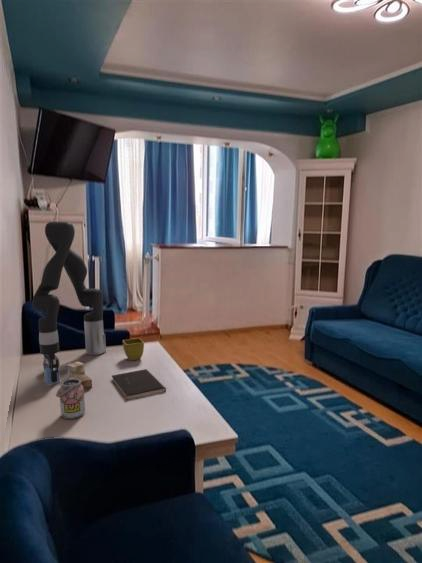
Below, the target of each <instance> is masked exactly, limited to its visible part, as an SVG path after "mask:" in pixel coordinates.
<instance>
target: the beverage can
mask: <svg viewBox="0 0 422 563" xmlns="http://www.w3.org/2000/svg"><path fill="white" fill-rule="evenodd" d="M55 397H57V398H59V403H60V414H61V417H62V418H64V419H65V420H74V419H78V418H80V417H82V416H83V415H84V414H85V412H86V403H85V390H84V388H83V386H82V385H81V381H80V380H79V379H74V378H71V379H69V378H68V379H66V380H63V381H62V382H60V388H58V389H57V391H56V393H55Z"/></svg>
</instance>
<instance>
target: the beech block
mask: <svg viewBox="0 0 422 563" xmlns="http://www.w3.org/2000/svg"><path fill="white" fill-rule="evenodd" d="M84 374H85V363H83V362H80V361H75V362H72V363H68V364H67V375H68V379H69V378H72V377H76V376H80V375H84Z"/></svg>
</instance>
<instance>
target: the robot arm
mask: <svg viewBox="0 0 422 563" xmlns="http://www.w3.org/2000/svg"><path fill="white" fill-rule="evenodd" d="M44 227H45V228H44V233H45V237H46V239H47V241H48V242H49V244H50V246H51V247H52V249H53V250H54V252H55V253H54V255H53V256H52V257H51V258H50V260H48V262H47V264H45V267H44V269H43V273H42V278H41V282H40V284H39V286H38V288H37V289H36V292H35V293H34V295H33V298H32V307H33V309H34V310H35V311H37V312H46V314H45V316H42V317H39V319H38V332H39V334H38V343H39V350H40V352H39V353H40V354H41V355H43V362H44V363H45V364H44V365H45V366H46V368H47V367H48V368H49V369H50V373H51V381H52V382H57V373H58V360H57V358H56V356H57V355H56V354H57V353H59V352H60V341H59V333H58V324H57V323H58V321H57V319H58V314H59V311H60V299H59V297H58V296H57V295H56V294H50V292H53V291H56V290H58V288H59V285H60V281H61V277H62V271H63V268H64V271H65V273H66V275H67V277H68V278H69V280H70V282H71V284H72V286H73V290H74V291H75V294H76V297H77V299H78V303H79V304H80V305H81V306H82V307H85V308H86V307H87V308H92V311H91V312H86V313H85V314H84V315H83V325H84V326H83V327H84V341H85V354H86V355H88V356H89V355H90V356H96V355H98V356H99V355H101V354H103V353H106V352H107V347H106V346H107V345H106V334H105V333H104V320H103V318H104V316H103V315H104V296H103V291H102V290H101V288H87V287H86V285H85V283H84V282H85V280H86V277H87V275H88V268H87V265H86V264H85V261H84V259H83V258H82V256H81V255H80V254H78V253H77V252H76V251H74V249H72V248H71V247H72V244H73V242H74V239H75V234H76V233H75V232H76V231H75V226H74V225H73V224H72V223H71V222H69V221H49V222H47V223H46V225H45V226H44ZM55 355H56V356H55ZM53 368H55V370H54V371H53Z"/></svg>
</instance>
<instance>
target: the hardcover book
mask: <svg viewBox="0 0 422 563" xmlns="http://www.w3.org/2000/svg"><path fill="white" fill-rule="evenodd" d="M111 378H112V380H113V382H114V383H115V384H117V385H116V386H117V387H118V389H119V390H120V391H121V393H122V394H123V395H124V397H125V396H126V397H125V398H126V400H132V399H135V398H136V397H137V398H139V397H141V398H142V397H145V396H150V395H155V394H159V393H164V392H166V391H167V388H166V387H165V386H164V385H163V384H162V383H161V382H160V381H159V380H158V379H157V378H156V377H155V375H154V374H152V373H151V372H150V371H149V370H148V369H147V368H145V369H140V370H135V371H134V370H133V371H129V372H123V373H118V374H113V375H111ZM131 398H132V399H131ZM137 398H136V399H137Z"/></svg>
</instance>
